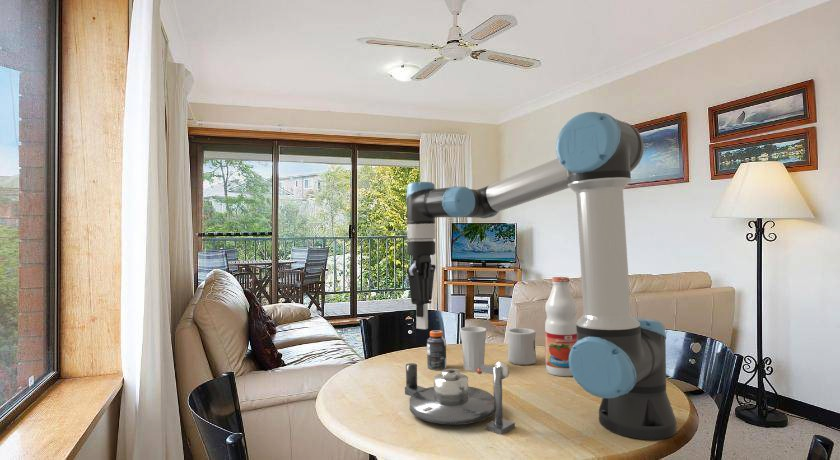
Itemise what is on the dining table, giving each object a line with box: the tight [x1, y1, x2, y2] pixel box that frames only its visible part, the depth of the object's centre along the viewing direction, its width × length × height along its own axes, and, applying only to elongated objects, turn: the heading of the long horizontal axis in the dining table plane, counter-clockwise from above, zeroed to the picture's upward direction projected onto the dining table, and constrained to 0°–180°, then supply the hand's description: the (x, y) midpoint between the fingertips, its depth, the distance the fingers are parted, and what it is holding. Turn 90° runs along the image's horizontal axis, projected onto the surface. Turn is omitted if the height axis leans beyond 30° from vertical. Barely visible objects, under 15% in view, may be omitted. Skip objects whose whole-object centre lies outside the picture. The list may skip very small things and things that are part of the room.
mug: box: [507, 327, 537, 366], centre depth 153 cm, size 12×9×10 cm
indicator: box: [476, 361, 516, 436], centre depth 102 cm, size 8×5×14 cm, turn 45°
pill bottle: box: [426, 329, 447, 371], centre depth 146 cm, size 6×6×11 cm
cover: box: [433, 368, 469, 406], centre depth 110 cm, size 8×8×7 cm
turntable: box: [404, 362, 494, 425], centre depth 112 cm, size 25×20×7 cm
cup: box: [459, 326, 487, 372], centre depth 145 cm, size 8×8×12 cm
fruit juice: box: [544, 276, 578, 377], centre depth 139 cm, size 9×9×28 cm
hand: (422, 328), depth 126 cm, fingers closed
